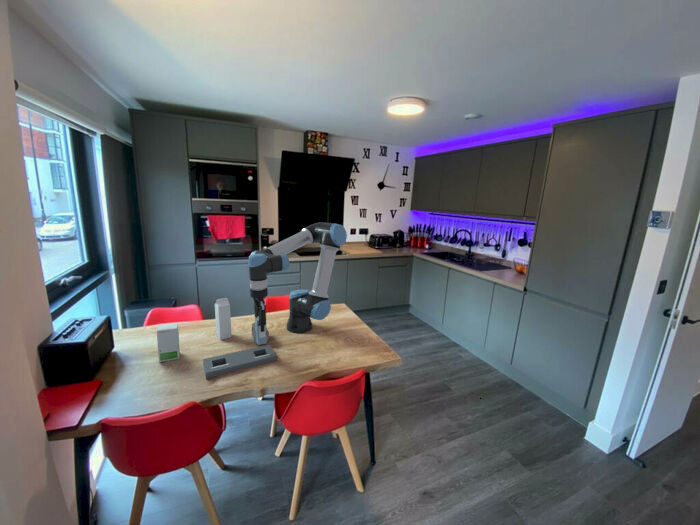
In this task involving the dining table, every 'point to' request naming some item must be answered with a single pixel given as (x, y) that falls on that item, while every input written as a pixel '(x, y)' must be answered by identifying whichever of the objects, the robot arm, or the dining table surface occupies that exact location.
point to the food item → (255, 334)
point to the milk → (223, 318)
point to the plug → (258, 340)
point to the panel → (238, 361)
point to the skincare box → (168, 342)
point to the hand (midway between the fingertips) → (261, 335)
